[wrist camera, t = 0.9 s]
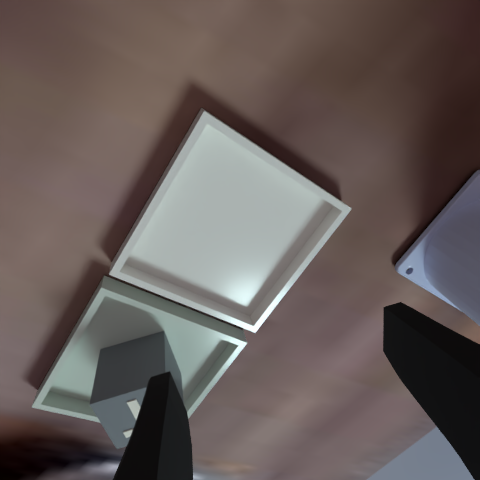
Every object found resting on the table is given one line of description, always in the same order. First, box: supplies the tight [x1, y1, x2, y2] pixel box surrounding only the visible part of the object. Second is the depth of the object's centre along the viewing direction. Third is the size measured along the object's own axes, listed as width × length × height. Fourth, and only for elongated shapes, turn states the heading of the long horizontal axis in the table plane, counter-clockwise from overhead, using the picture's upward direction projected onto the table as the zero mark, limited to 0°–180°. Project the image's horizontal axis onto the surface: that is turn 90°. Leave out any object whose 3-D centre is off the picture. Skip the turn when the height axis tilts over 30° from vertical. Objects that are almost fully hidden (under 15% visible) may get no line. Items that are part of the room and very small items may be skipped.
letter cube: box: [89, 331, 184, 449], centre depth 21 cm, size 4×4×4 cm
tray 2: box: [32, 276, 247, 423], centre depth 23 cm, size 10×10×1 cm
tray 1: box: [109, 108, 351, 333], centre depth 20 cm, size 10×10×1 cm
